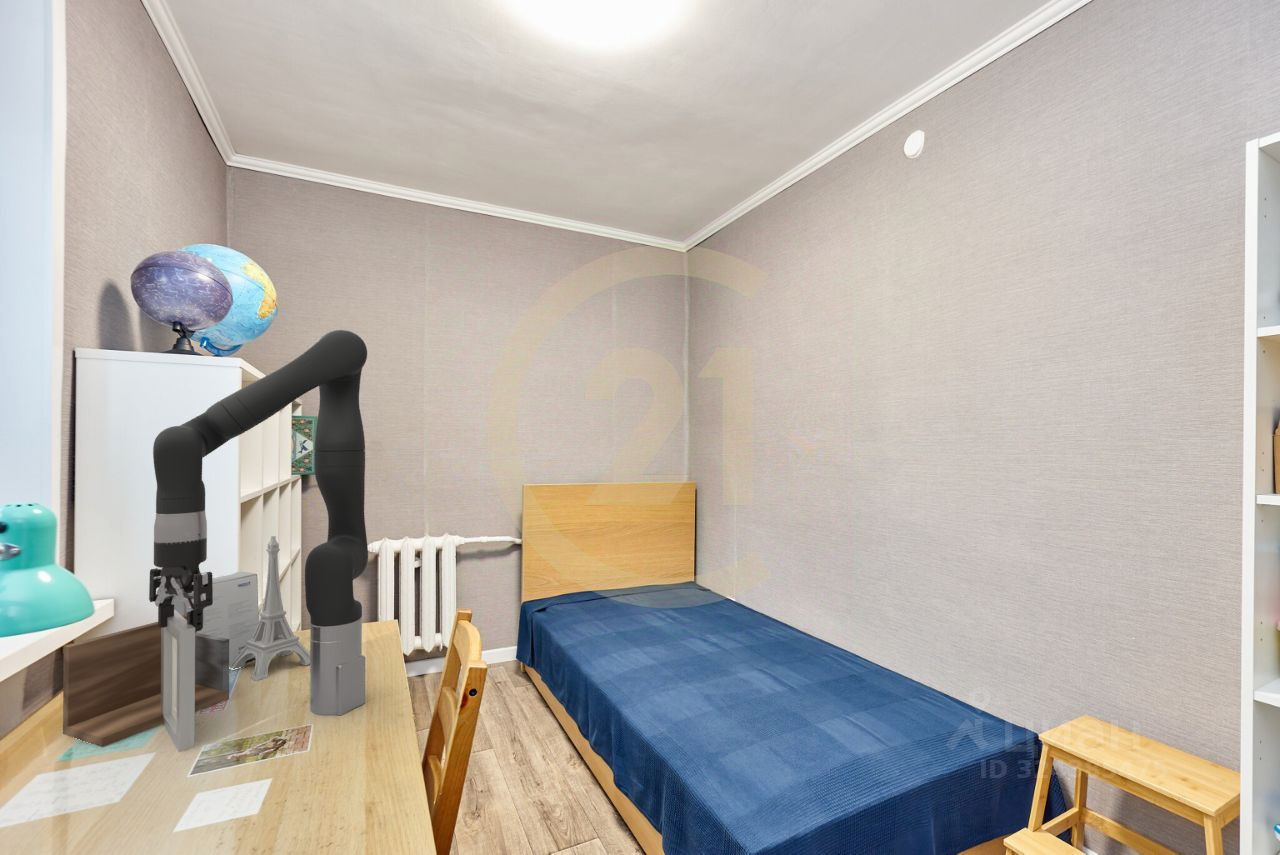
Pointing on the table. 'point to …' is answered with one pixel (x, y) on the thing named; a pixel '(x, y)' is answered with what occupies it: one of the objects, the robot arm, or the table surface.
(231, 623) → the hard drive box
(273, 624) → the eiffel tower
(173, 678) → the picture frame
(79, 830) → the table surface
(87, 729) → the walnut shelf
